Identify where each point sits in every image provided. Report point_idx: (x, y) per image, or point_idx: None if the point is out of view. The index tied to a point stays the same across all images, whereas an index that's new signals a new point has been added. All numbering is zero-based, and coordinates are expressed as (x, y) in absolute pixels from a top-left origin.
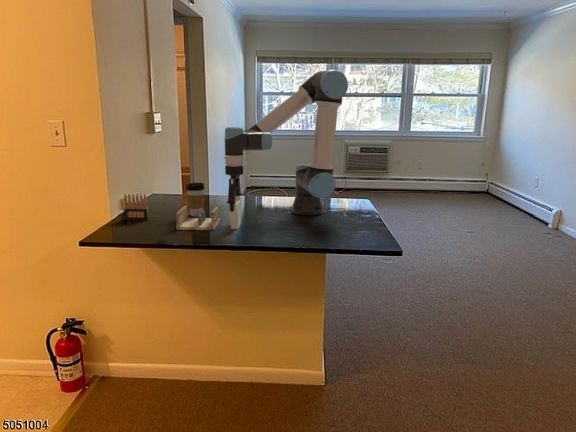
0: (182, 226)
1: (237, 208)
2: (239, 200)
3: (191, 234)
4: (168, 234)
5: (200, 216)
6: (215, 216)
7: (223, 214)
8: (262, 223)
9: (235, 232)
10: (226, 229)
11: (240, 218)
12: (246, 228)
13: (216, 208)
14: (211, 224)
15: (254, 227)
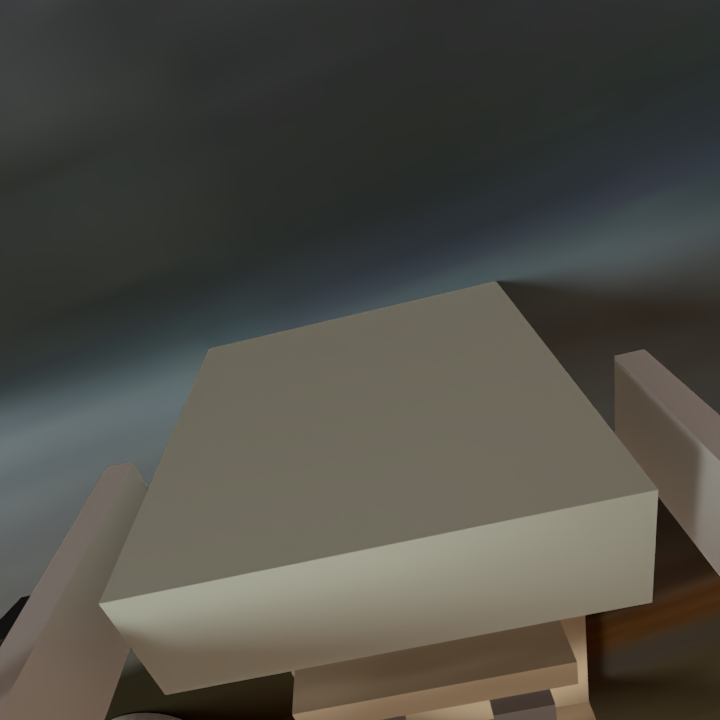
0: (576, 693)
1: (594, 451)
2: (55, 624)
3: (705, 578)
4: (699, 684)
5: (553, 701)
6: None
7: (8, 607)
8: (116, 19)
9: (643, 255)
10: None
11: (243, 371)
12: (451, 182)
13: (373, 704)
14: None
15: (376, 78)
